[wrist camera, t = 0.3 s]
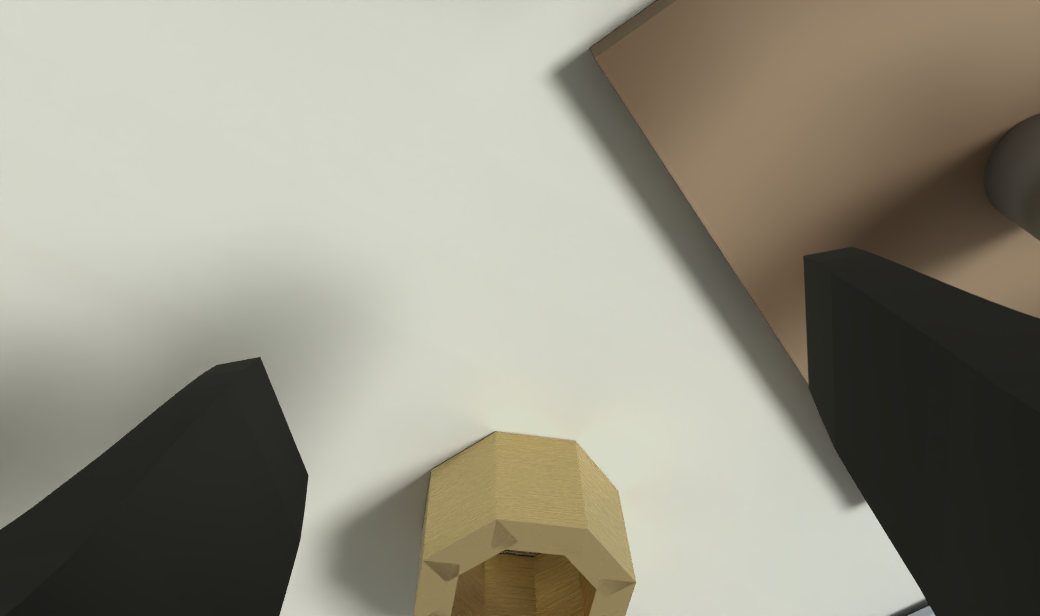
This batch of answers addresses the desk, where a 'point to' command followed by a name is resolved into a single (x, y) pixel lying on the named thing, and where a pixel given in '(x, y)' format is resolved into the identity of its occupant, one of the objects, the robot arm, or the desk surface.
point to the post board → (846, 136)
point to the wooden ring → (523, 534)
